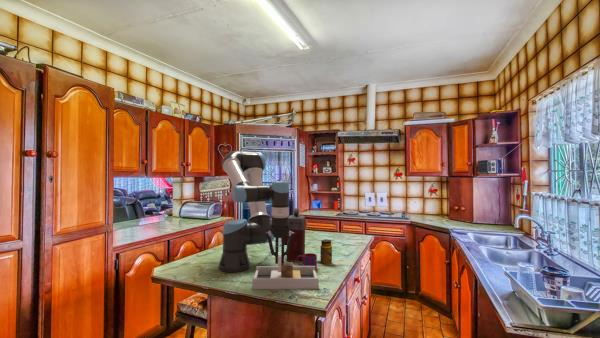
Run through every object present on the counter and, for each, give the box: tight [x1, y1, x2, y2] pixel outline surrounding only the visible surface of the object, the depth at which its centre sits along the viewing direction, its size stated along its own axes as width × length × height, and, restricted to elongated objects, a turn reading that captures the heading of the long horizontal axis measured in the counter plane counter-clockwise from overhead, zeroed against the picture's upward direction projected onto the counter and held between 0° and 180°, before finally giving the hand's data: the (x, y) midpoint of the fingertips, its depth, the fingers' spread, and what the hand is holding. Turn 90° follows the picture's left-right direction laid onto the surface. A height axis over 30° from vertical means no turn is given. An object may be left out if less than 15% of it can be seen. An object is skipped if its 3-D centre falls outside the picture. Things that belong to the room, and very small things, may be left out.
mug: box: [296, 252, 318, 271], centre depth 138 cm, size 7×10×7 cm
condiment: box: [317, 239, 335, 267], centre depth 146 cm, size 7×8×12 cm
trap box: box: [251, 265, 320, 290], centre depth 121 cm, size 27×16×4 cm, turn 93°
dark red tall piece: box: [284, 207, 306, 263], centre depth 154 cm, size 9×11×28 cm
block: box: [281, 261, 294, 278], centre depth 121 cm, size 5×5×5 cm
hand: (279, 271), depth 120 cm, fingers closed
